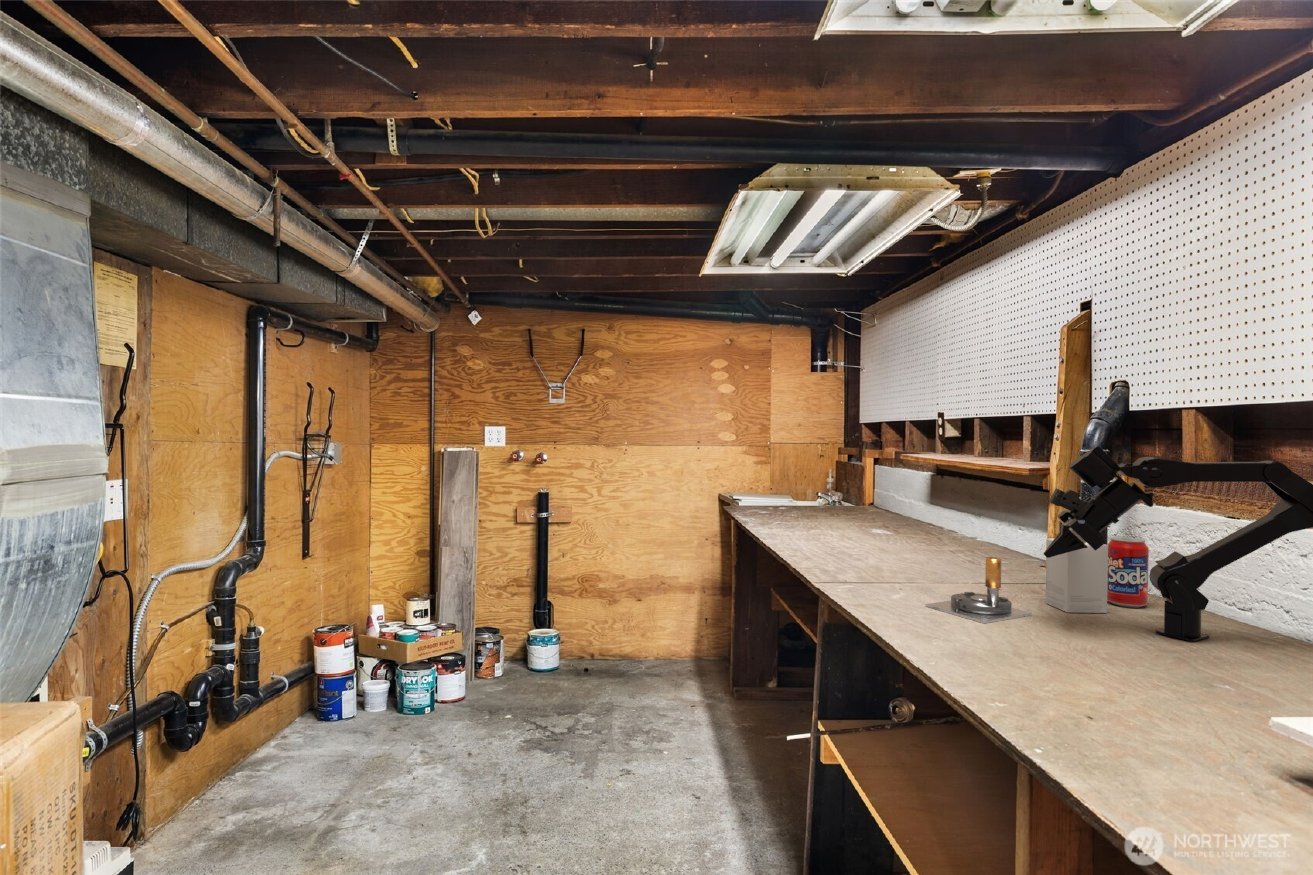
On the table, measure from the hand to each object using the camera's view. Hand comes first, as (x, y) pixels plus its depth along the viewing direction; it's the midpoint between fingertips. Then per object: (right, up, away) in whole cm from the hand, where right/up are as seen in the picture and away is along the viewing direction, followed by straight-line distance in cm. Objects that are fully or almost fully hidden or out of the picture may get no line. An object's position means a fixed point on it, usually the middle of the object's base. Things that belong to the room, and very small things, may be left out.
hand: (1045, 555), depth 144 cm
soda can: (+27, -14, +15) cm, 34 cm away
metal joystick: (-9, -13, +9) cm, 19 cm away
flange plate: (-10, -13, +8) cm, 19 cm away
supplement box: (+13, -14, +12) cm, 22 cm away
